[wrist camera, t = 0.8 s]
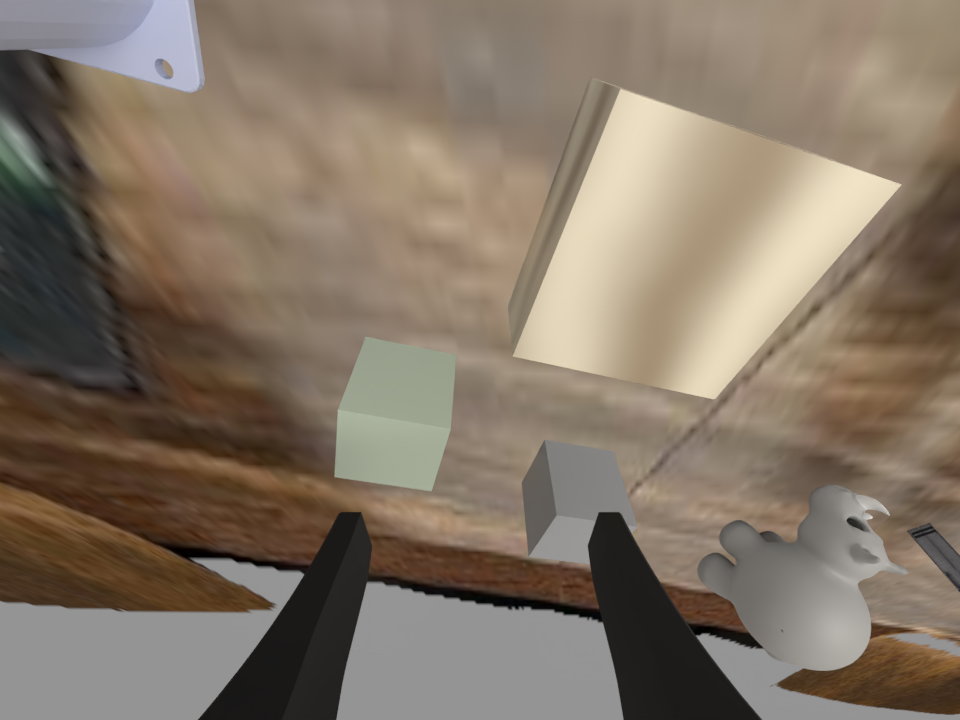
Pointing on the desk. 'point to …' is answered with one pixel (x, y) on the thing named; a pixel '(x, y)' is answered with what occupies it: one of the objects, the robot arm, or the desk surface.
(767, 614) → the round bodied animal figurine
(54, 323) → the desk surface
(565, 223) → the birch block
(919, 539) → the mini dv tape
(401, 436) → the sage cube
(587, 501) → the grey cube
